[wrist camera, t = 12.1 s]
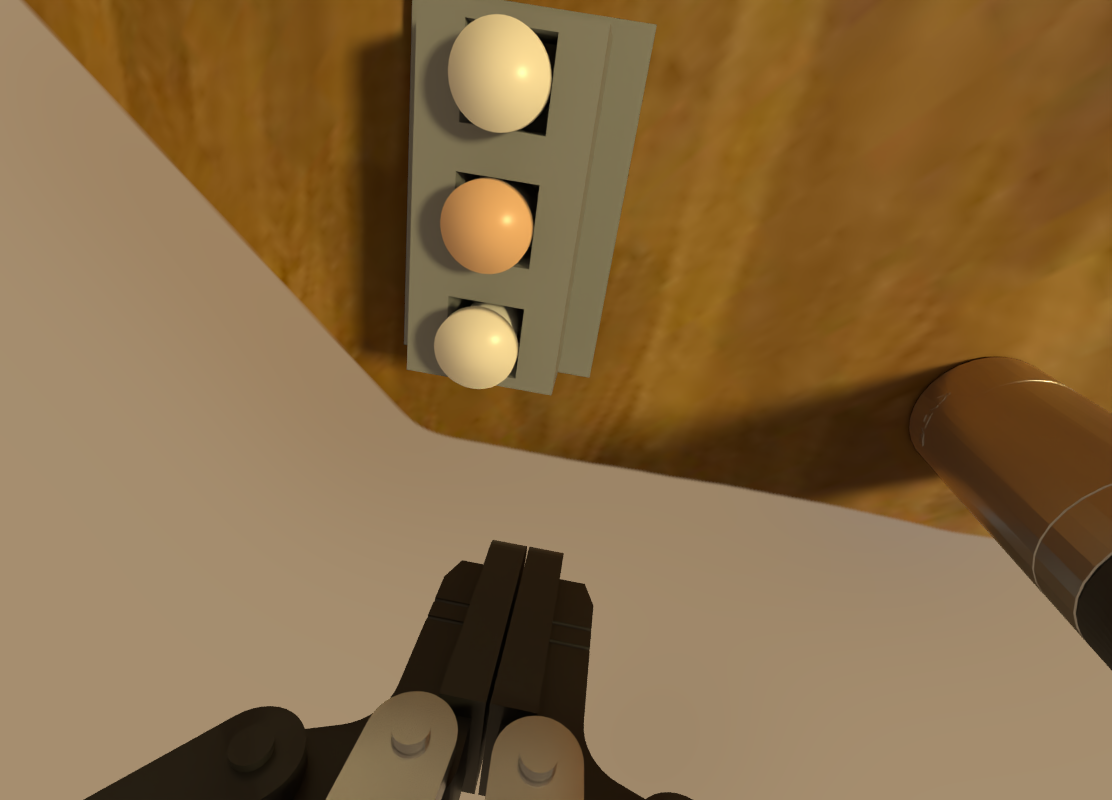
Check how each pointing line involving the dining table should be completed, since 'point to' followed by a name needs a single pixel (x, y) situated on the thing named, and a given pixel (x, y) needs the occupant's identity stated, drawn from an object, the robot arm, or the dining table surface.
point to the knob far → (479, 344)
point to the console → (530, 157)
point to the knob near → (500, 74)
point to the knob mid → (489, 223)
